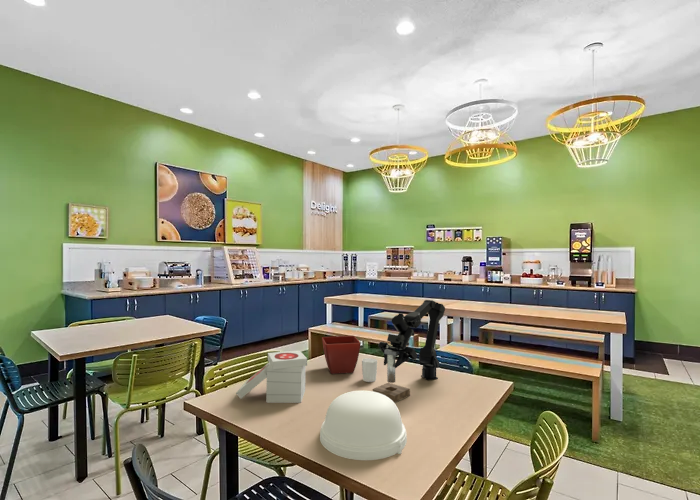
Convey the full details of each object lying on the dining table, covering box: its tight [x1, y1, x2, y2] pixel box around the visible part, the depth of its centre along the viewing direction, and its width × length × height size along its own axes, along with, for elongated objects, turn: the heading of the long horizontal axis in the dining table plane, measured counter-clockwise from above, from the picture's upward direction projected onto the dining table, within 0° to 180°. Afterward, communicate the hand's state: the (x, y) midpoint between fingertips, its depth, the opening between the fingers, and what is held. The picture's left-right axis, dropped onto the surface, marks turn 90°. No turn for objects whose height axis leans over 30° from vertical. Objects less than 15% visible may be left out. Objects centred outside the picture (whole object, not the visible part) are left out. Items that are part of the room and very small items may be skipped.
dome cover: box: [319, 389, 408, 461], centre depth 125 cm, size 32×30×14 cm
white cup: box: [361, 357, 378, 383], centre depth 184 cm, size 8×8×10 cm
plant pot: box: [321, 335, 362, 375], centre depth 200 cm, size 19×19×17 cm
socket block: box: [372, 382, 411, 404], centre depth 163 cm, size 12×12×3 cm
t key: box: [384, 349, 399, 384], centre depth 163 cm, size 4×6×14 cm, turn 48°
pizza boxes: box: [236, 350, 308, 404], centre depth 161 cm, size 19×30×18 cm, turn 90°
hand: (389, 366), depth 162 cm, fingers closed on t key, 5 cm apart
